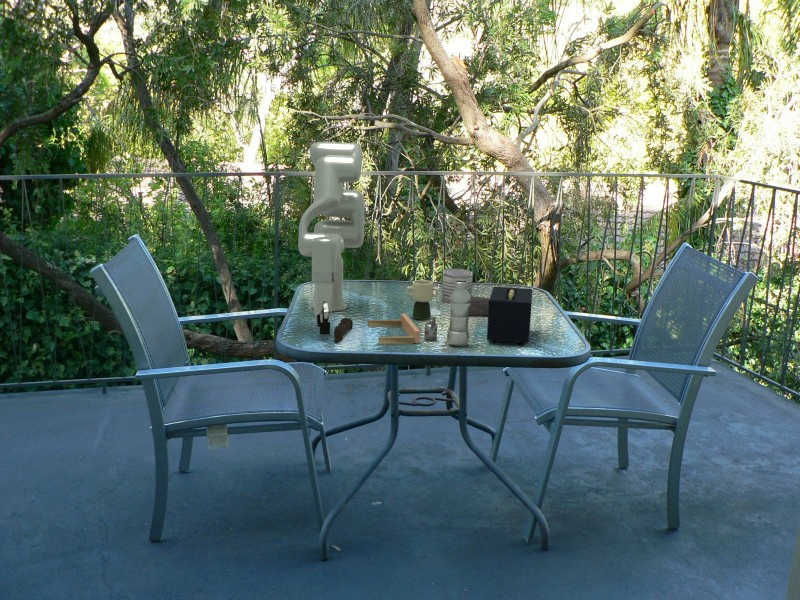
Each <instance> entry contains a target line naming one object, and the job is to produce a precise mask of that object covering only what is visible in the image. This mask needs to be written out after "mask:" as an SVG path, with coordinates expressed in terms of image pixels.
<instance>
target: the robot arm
mask: <svg viewBox="0 0 800 600" xmlns="http://www.w3.org/2000/svg"><path fill="white" fill-rule="evenodd" d="M309 156H310V159H311V162H312V165H313V166H314V169H315V170H314V174H315V175H314V193H313V195H314V199H313V203H311V204H310V206H309V207H308V208H307V209H306V210H305V211H304V212H303V214H302V216H301V218H300V220H299V224H298V225H299V227H298V243H297V245H298V252H299V254H300V255H302V256H303V257H311V282H312V284H313V283H314V290H313V291H314V295H313V299H314V300H313V303H312V304H311V309H312V310H313V311H314V314H315V315H316V327H318V328H319V335H320V336H330V335H331V319H330V315H331V314H332V312H341V311H344V310H346V309H347V308H348V305H347V304H346V303H345V302H343V296H344V295H343V293H344V292H343V290H344V289H343V287H344V286H343V285H344V260H343V257H342V253H343V252H344V251H345V250H344V249H345V248H350V249H351V248H353V249H355V248H360V247H362V245H363V244H364V239H365V198H364V195H363V193H362V191H359V190H357V189H344V183H357V182H358V181H359V180H360V178H361V173H362V164H363V162H362V161H363V151H362V147H361V146H360V145H359V143H356V142H341V141H340V142H337V141H318V142H317V141H316V142H314V143H312V144H311V145H310V147H309ZM318 216H325V217H330V218H348V219H350V220H340V219H324V220H320V221H318V222H317V223H315V225H314V228H313V232H308V230H309V226H310V224H311V222H312V220H314V219H315V218H317V217H318Z"/></svg>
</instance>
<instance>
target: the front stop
mask: <svg viewBox="0 0 800 600" xmlns="http://www.w3.org/2000/svg"><path fill="white" fill-rule="evenodd" d="M400 320H402V325H401V326H400V328H402V329H403V330H404V332H405V333H406V334H407V336H408V335H409V336H414V337H415V343H417V344H416V345H419V344H418V343H421V342H420V341H421V339H420V338H421V331H420V328H419V327H417V326H416V325H415V323H414V322H413V321H412V320H411V319H410V317H409V316H408V315H407V313H401V314H400Z"/></svg>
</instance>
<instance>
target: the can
mask: <svg viewBox="0 0 800 600" xmlns="http://www.w3.org/2000/svg"><path fill="white" fill-rule="evenodd" d="M473 275H474V273H473V271H470V270H466V269H464V268H446V269H443V270H442V287H441V288H442V289H441V290H442V291H441V293H442V294H441V302H442V304H444V303H447V304H446V305H448V304H450V295H451V294H452V292H453V291H454V290H455V287H454V285H455V281H456V280H464V281H467V288H466V289H467V291H468V292H469V294H470V296H473V294H472V293H473V292H472V290H473Z"/></svg>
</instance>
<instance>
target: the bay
mask: <svg viewBox="0 0 800 600" xmlns="http://www.w3.org/2000/svg"><path fill="white" fill-rule="evenodd" d="M401 325H402V320H401V319H368V320H367V326H368V328H380V327H381V328H383V327H385V328H388V327H389V328H390V327H393V328H394V327H398V328H399V327H400V328H401ZM413 343H415V337H414V336H408V335H407V336H405V335H403V336H378V345H414V344H413Z"/></svg>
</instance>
